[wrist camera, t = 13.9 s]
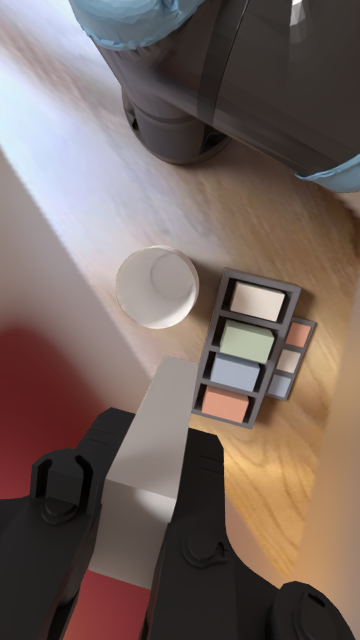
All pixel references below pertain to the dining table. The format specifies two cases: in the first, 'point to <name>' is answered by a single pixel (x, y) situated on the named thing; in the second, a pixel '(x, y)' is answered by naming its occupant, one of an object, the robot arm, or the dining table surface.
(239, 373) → the key slate
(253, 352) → the key sage
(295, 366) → the strip
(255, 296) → the key ivory
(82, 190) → the dining table surface
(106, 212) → the dining table surface
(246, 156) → the dining table surface
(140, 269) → the cup
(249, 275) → the keypad
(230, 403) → the key terracotta
